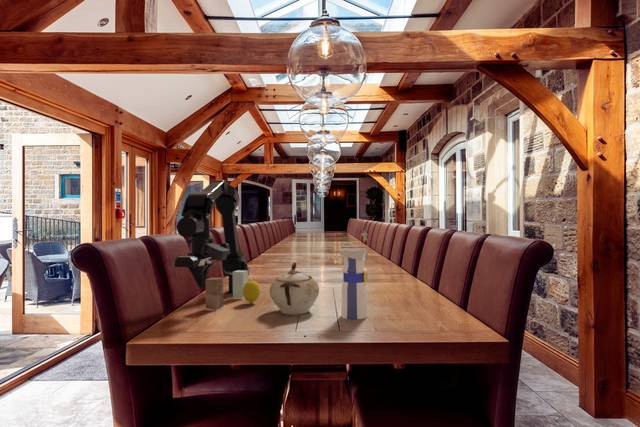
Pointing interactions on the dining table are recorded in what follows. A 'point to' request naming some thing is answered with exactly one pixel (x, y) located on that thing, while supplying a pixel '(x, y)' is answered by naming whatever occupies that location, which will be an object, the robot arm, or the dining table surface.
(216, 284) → the beige rectangular block
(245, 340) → the dining table surface
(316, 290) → the sugar bowl
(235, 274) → the sage block
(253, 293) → the lemon
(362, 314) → the white blue cross vase
